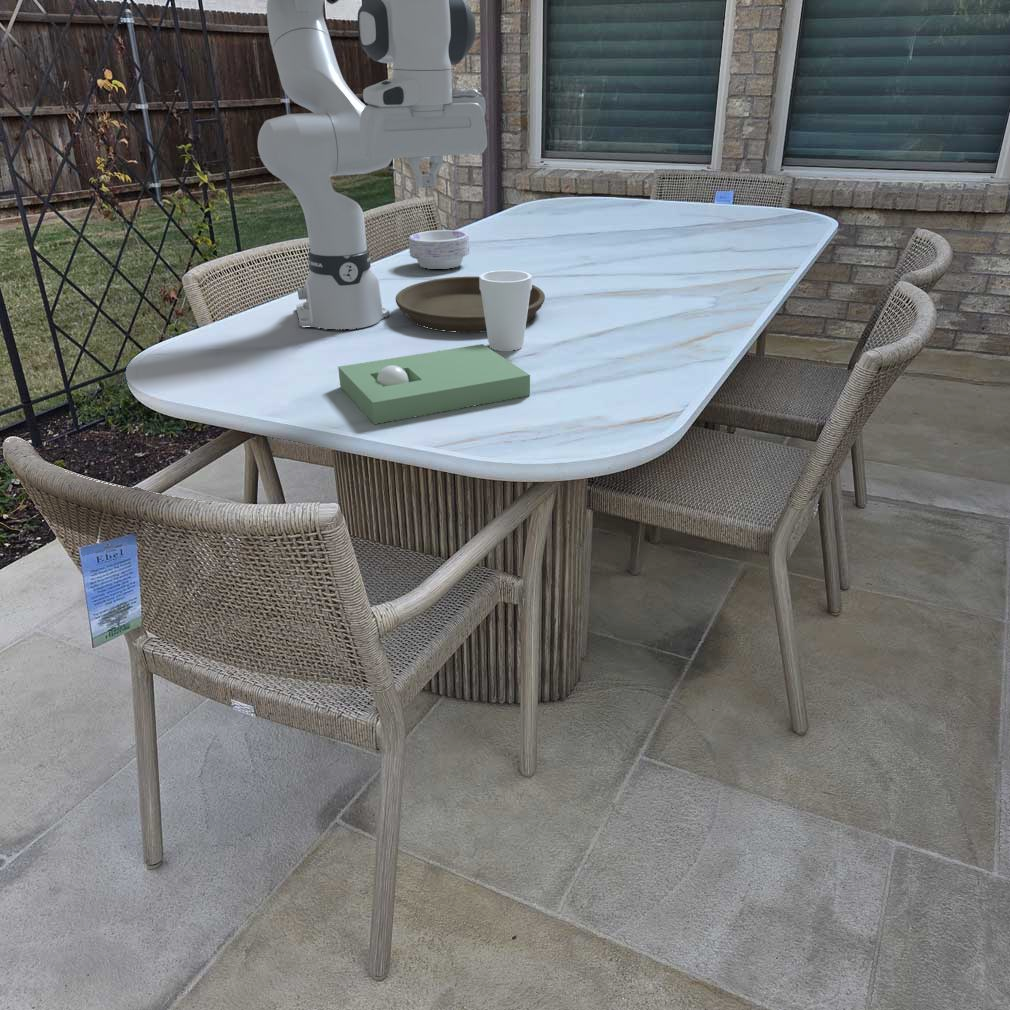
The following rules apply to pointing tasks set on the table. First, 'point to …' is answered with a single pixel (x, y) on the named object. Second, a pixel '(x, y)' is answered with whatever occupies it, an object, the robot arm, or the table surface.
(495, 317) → the foam cup
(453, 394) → the green
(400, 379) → the ball
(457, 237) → the paper bowls
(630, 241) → the table surface
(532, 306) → the plant saucer
